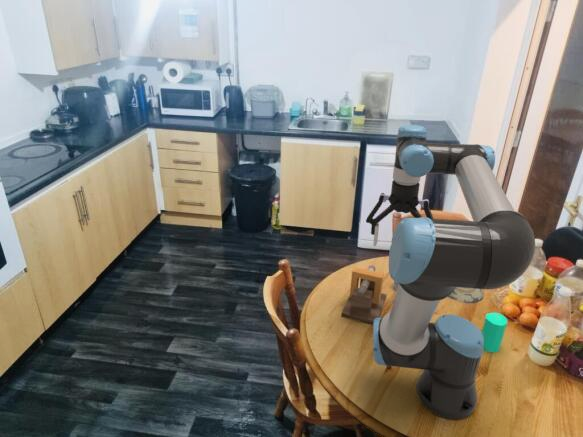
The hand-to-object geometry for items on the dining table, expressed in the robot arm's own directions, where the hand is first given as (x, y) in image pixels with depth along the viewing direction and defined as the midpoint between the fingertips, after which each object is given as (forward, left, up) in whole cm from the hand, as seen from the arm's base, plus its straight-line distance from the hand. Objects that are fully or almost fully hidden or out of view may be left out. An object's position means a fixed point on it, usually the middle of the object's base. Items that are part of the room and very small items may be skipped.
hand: (397, 247), depth 129 cm
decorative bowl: (+27, -22, -29) cm, 45 cm away
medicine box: (+21, -2, -28) cm, 35 cm away
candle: (0, -31, -28) cm, 42 cm away
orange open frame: (+4, +9, -24) cm, 26 cm away
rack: (+4, +9, -28) cm, 30 cm away
